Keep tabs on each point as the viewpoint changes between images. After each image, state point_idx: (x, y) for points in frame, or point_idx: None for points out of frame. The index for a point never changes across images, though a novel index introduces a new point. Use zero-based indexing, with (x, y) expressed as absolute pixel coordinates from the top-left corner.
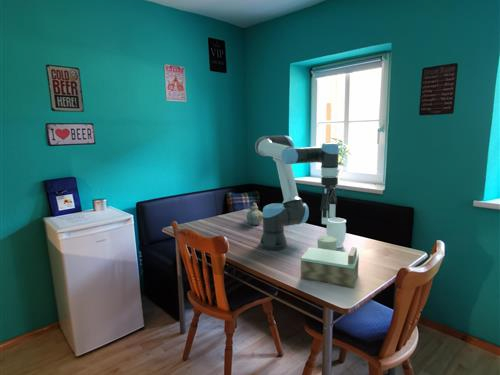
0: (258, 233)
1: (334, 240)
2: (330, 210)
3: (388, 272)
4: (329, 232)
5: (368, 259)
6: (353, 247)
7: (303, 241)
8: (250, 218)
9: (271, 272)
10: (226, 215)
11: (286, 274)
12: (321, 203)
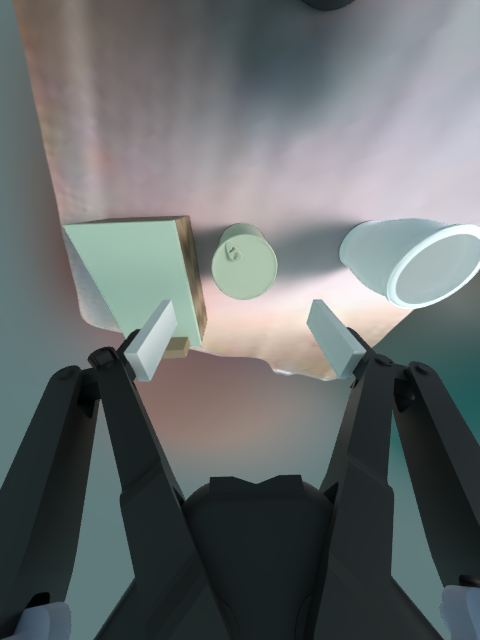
0: None
1: (239, 294)
2: (328, 325)
3: (239, 352)
4: (374, 240)
5: (284, 324)
6: (183, 352)
7: (416, 93)
8: None
9: (59, 89)
10: None
11: (94, 163)
12: (34, 420)
